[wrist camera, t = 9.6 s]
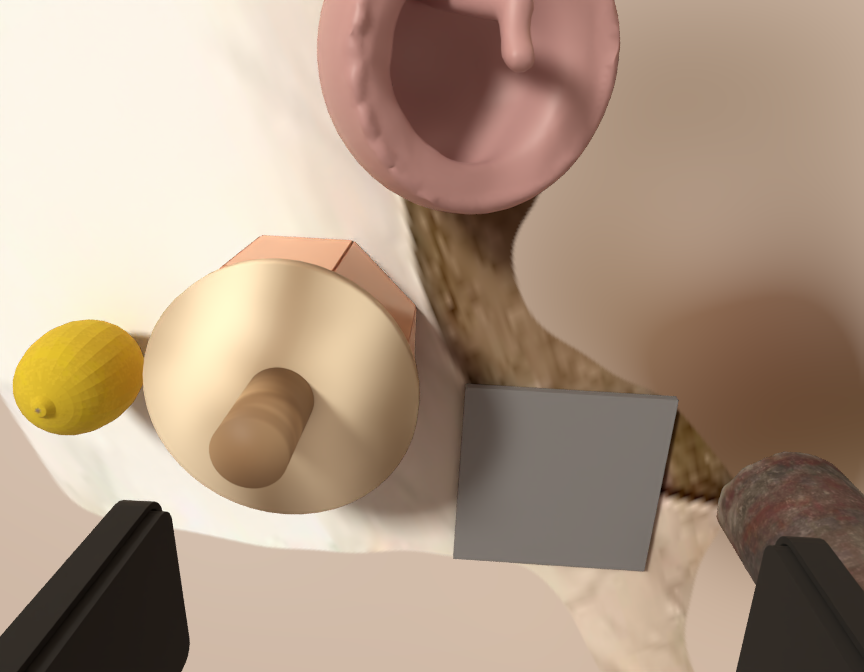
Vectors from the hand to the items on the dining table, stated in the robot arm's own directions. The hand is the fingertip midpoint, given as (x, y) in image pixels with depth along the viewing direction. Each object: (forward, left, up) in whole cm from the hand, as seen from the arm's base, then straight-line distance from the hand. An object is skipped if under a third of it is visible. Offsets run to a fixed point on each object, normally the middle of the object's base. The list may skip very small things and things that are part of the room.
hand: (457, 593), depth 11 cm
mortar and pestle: (0, -8, -27) cm, 28 cm away
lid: (+8, +7, -21) cm, 23 cm away
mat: (-7, +15, -27) cm, 31 cm away
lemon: (+19, +8, -27) cm, 34 cm away
